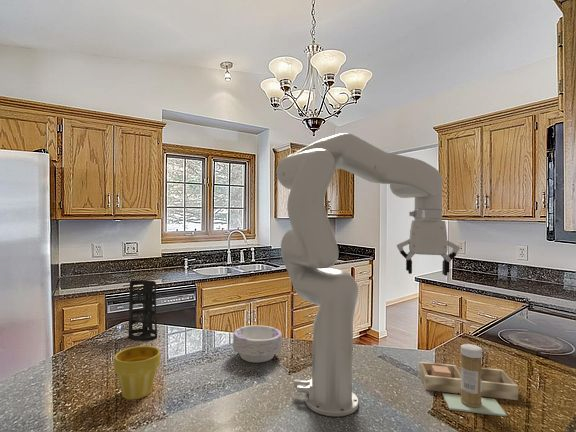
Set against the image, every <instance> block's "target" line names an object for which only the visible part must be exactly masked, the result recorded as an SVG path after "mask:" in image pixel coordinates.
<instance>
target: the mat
mask: <svg viewBox="0 0 576 432" xmlns="http://www.w3.org/2000/svg"><path fill="white" fill-rule="evenodd" d="M442 397H443V399H444V401H445V403H446V406H447V407H448V409H449V410H450V411H458V412H464V413H465V412H466V413H473V414H475V413H476V414H482V415H491V416H498V417H507V416H508V414H507V412H506V411H505V410H504V409H503V408H502V407H501V405H500V403H498V401H497V400H496V398H490V397H481V402H482V405H481V406H480V407H476V408H475V407H470V406H467V405H465V404H463V403H462V402H461V394H455V393H452V394H451V393H446V392H442Z"/></svg>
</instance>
